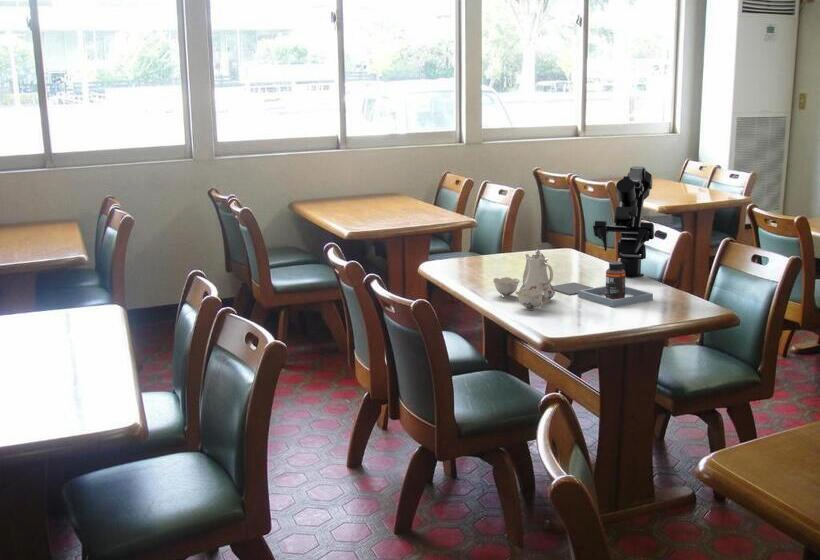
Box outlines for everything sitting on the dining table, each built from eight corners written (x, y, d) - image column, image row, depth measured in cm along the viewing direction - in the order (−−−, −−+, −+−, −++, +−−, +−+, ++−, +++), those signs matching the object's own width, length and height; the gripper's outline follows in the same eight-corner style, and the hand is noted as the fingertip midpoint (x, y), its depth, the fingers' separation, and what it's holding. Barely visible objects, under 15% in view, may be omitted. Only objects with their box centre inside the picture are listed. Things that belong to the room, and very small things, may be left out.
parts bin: (616, 290, 288) (616, 284, 288) (652, 300, 274) (652, 293, 274) (578, 296, 280) (578, 290, 280) (613, 307, 267) (613, 300, 266)
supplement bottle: (623, 296, 280) (624, 260, 278) (626, 300, 274) (627, 264, 272) (604, 296, 281) (605, 260, 278) (606, 300, 275) (607, 264, 272)
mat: (574, 283, 298) (574, 282, 298) (598, 290, 288) (598, 289, 288) (545, 288, 293) (545, 286, 293) (569, 295, 283) (569, 293, 282)
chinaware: (484, 299, 286) (479, 249, 282) (529, 288, 292) (525, 239, 288) (529, 320, 261) (525, 265, 257) (578, 307, 267) (574, 253, 263)
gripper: (594, 195, 286) (587, 235, 279) (654, 197, 279) (649, 237, 272) (598, 216, 295) (591, 255, 287) (656, 218, 288) (651, 258, 281)
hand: (620, 251), depth 282 cm, fingers open, 9 cm apart
